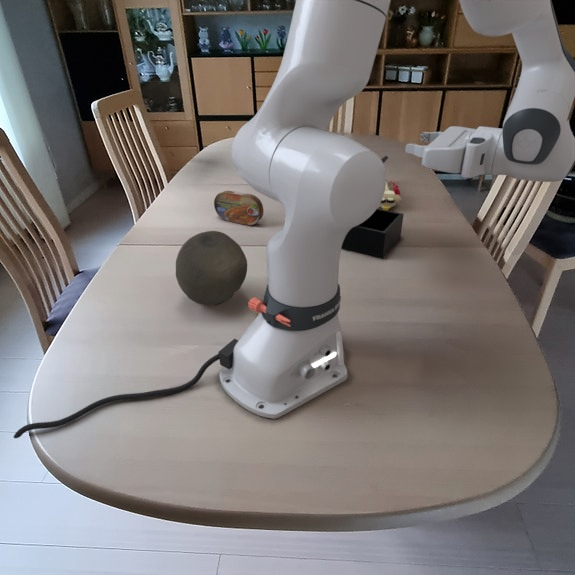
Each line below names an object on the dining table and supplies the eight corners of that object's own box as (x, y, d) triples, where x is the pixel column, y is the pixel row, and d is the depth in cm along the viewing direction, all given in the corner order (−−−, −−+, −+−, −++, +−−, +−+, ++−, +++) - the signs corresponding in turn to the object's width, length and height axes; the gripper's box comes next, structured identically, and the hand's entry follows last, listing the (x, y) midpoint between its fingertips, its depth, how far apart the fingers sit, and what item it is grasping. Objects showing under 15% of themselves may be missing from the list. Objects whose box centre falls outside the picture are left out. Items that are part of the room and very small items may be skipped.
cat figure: (362, 186, 150) (368, 210, 128) (364, 159, 146) (370, 180, 124) (392, 186, 149) (403, 211, 127) (395, 159, 145) (407, 180, 123)
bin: (400, 237, 116) (403, 213, 112) (382, 259, 107) (385, 233, 103) (345, 225, 123) (346, 202, 119) (324, 244, 114) (324, 219, 110)
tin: (215, 218, 128) (211, 190, 124) (221, 214, 131) (218, 186, 126) (260, 228, 122) (258, 199, 118) (265, 223, 125) (264, 195, 120)
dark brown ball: (184, 326, 87) (171, 259, 79) (179, 288, 98) (167, 225, 90) (255, 313, 90) (250, 247, 82) (242, 277, 101) (236, 216, 93)
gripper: (495, 122, 95) (430, 116, 101) (474, 147, 80) (399, 138, 86) (489, 152, 98) (426, 144, 104) (467, 181, 84) (396, 170, 90)
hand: (414, 141), depth 95 cm, fingers open, 8 cm apart
